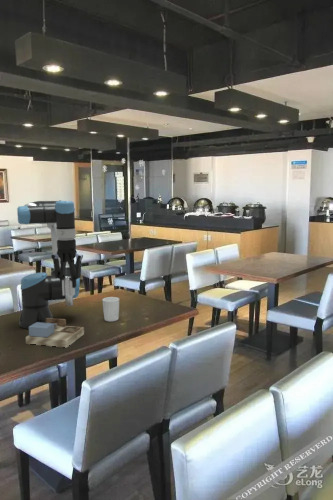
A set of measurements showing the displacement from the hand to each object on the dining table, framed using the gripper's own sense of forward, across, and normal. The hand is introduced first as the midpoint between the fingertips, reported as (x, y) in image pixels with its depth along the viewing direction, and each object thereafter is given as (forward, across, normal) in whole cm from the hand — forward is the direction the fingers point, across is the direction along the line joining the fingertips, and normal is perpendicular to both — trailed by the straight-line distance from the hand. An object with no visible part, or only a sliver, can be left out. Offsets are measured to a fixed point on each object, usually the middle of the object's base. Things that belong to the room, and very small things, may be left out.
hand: (68, 294), depth 170 cm
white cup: (+19, +8, +26) cm, 33 cm away
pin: (+5, 0, 0) cm, 5 cm away
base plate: (+18, -5, -4) cm, 19 cm away
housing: (+15, -9, -8) cm, 19 cm away
